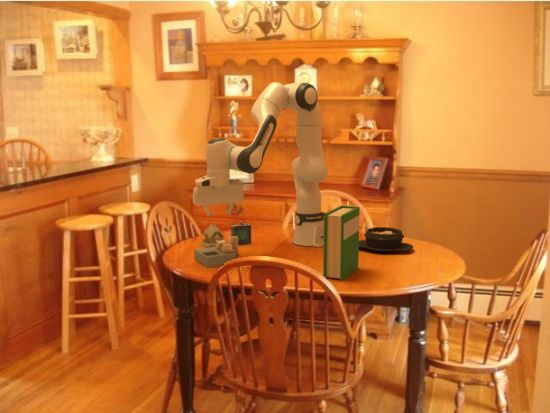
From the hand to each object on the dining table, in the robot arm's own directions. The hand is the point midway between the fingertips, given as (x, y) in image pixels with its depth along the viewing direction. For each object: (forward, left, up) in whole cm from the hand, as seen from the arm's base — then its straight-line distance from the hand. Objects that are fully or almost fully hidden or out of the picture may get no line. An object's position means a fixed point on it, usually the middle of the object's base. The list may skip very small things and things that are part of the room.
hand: (218, 215), depth 227 cm
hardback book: (-34, +36, -19) cm, 53 cm away
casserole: (-70, +16, -19) cm, 74 cm away
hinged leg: (-3, -2, -15) cm, 15 cm away
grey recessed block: (+1, -2, -19) cm, 19 cm away
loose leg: (-9, -6, -19) cm, 22 cm away
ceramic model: (-9, -26, -20) cm, 34 cm away
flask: (-20, -22, -19) cm, 35 cm away
